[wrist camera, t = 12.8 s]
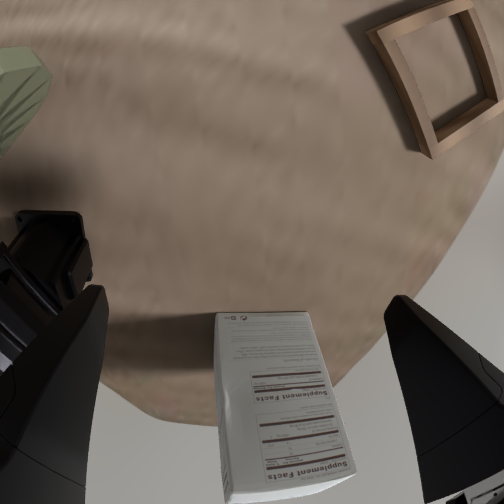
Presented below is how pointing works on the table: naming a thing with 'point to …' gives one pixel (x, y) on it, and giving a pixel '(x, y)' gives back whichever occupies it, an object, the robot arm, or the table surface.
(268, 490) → the supplement box
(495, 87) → the open wooden picture frame
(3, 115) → the spool
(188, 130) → the table surface
